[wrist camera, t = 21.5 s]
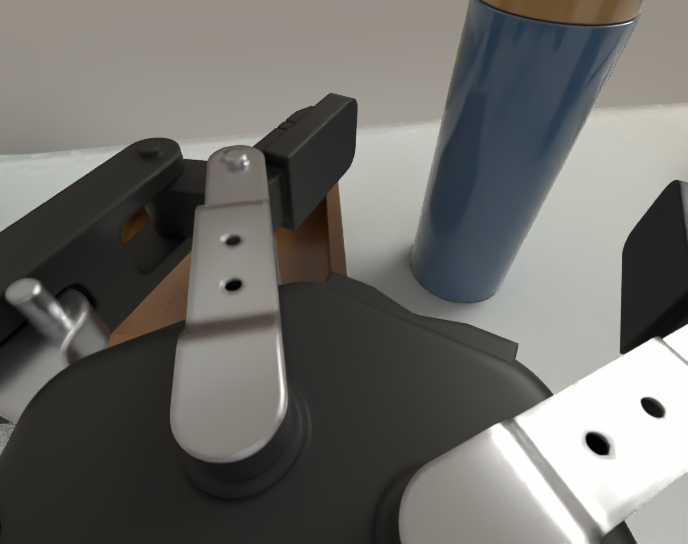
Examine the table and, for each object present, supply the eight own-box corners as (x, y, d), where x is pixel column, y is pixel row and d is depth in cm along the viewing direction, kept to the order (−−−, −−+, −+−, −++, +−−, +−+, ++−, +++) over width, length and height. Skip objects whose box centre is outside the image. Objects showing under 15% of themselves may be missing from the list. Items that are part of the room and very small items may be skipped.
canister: (486, 233, 28) (605, -56, 16) (516, 301, 24) (705, -17, 12) (403, 236, 27) (461, -60, 15) (419, 304, 23) (515, -21, 12)
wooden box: (335, 210, 29) (336, 163, 26) (349, 382, 20) (353, 340, 17) (132, 215, 28) (108, 165, 25) (51, 397, 19) (-2, 354, 16)
